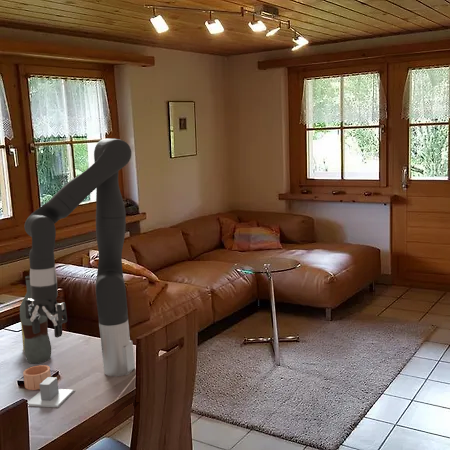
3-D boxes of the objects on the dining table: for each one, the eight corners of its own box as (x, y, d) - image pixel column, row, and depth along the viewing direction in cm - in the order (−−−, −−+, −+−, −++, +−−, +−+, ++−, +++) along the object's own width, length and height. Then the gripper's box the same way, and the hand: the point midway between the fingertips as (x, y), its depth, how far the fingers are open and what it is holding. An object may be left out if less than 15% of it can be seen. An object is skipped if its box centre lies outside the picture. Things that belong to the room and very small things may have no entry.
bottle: (51, 362, 203) (41, 278, 198) (23, 366, 201) (13, 281, 196) (53, 352, 212) (44, 271, 207) (27, 355, 210) (16, 274, 205)
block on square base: (73, 391, 178) (71, 374, 177) (57, 407, 169) (55, 388, 168) (43, 390, 180) (41, 373, 179) (26, 405, 171) (23, 387, 170)
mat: (76, 392, 179) (75, 390, 179) (58, 409, 168) (58, 408, 168) (43, 390, 181) (42, 389, 181) (23, 407, 170) (23, 406, 170)
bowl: (56, 380, 188) (54, 365, 187) (43, 391, 180) (41, 376, 180) (33, 379, 190) (31, 364, 189) (20, 390, 182) (18, 375, 181)
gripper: (71, 281, 173) (74, 334, 176) (35, 277, 180) (39, 327, 182) (52, 287, 167) (56, 342, 169) (16, 282, 173) (20, 335, 176)
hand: (47, 334), depth 176 cm, fingers open, 8 cm apart
